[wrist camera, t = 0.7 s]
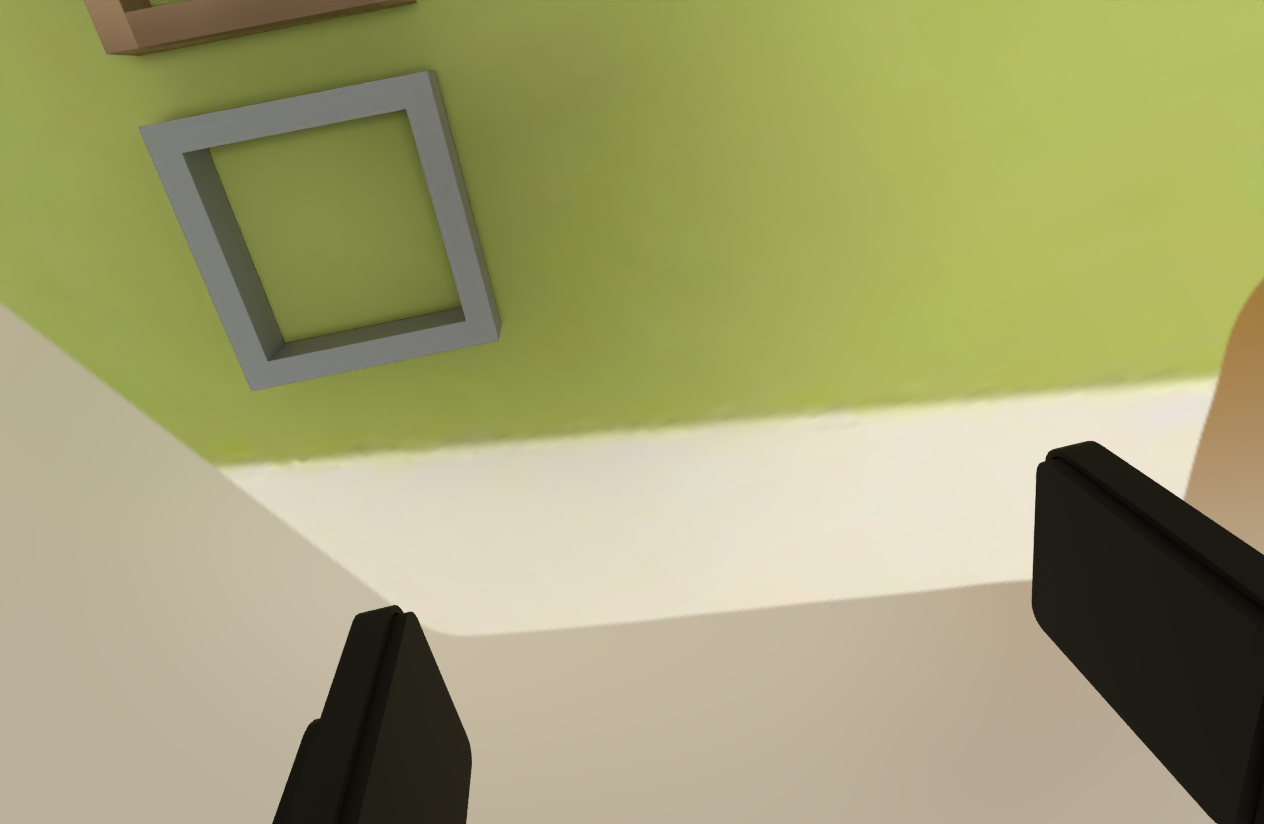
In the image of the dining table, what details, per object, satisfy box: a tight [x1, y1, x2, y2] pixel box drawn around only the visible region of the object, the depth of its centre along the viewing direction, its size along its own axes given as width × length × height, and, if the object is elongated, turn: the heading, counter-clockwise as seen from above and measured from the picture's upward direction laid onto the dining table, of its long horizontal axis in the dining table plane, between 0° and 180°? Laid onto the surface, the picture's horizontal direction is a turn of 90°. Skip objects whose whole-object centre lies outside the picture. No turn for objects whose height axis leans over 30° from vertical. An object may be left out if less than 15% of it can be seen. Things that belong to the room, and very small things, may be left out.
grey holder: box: [138, 71, 501, 391], centre depth 33 cm, size 11×11×2 cm
